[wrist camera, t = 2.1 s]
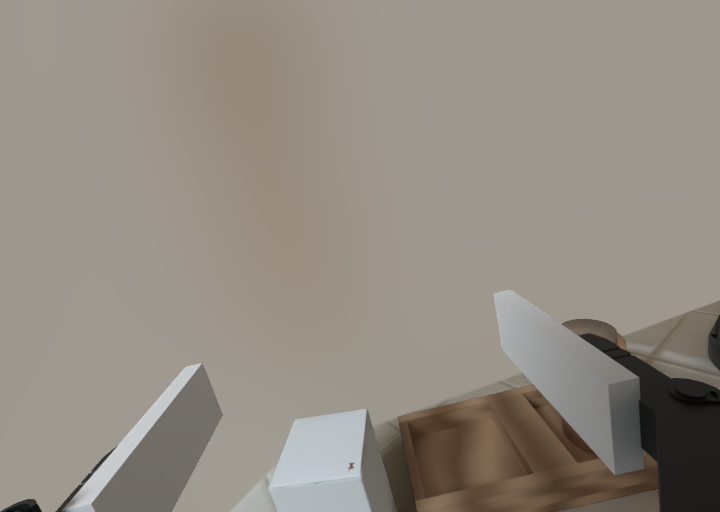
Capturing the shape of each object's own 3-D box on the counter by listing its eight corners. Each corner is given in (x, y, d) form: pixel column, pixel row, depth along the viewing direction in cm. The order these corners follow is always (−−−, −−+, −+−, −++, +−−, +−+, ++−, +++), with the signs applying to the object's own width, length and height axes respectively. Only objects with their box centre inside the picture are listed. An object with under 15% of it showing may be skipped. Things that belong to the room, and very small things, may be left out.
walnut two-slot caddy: (609, 391, 41) (607, 367, 41) (711, 476, 30) (711, 443, 29) (403, 440, 42) (397, 416, 41) (424, 541, 30) (416, 511, 30)
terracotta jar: (602, 406, 38) (594, 311, 36) (648, 448, 33) (642, 337, 30) (550, 418, 38) (538, 324, 36) (586, 462, 33) (575, 353, 30)
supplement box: (400, 512, 34) (370, 405, 31) (401, 606, 26) (362, 479, 23) (329, 518, 35) (294, 416, 32) (312, 610, 28) (264, 489, 25)
